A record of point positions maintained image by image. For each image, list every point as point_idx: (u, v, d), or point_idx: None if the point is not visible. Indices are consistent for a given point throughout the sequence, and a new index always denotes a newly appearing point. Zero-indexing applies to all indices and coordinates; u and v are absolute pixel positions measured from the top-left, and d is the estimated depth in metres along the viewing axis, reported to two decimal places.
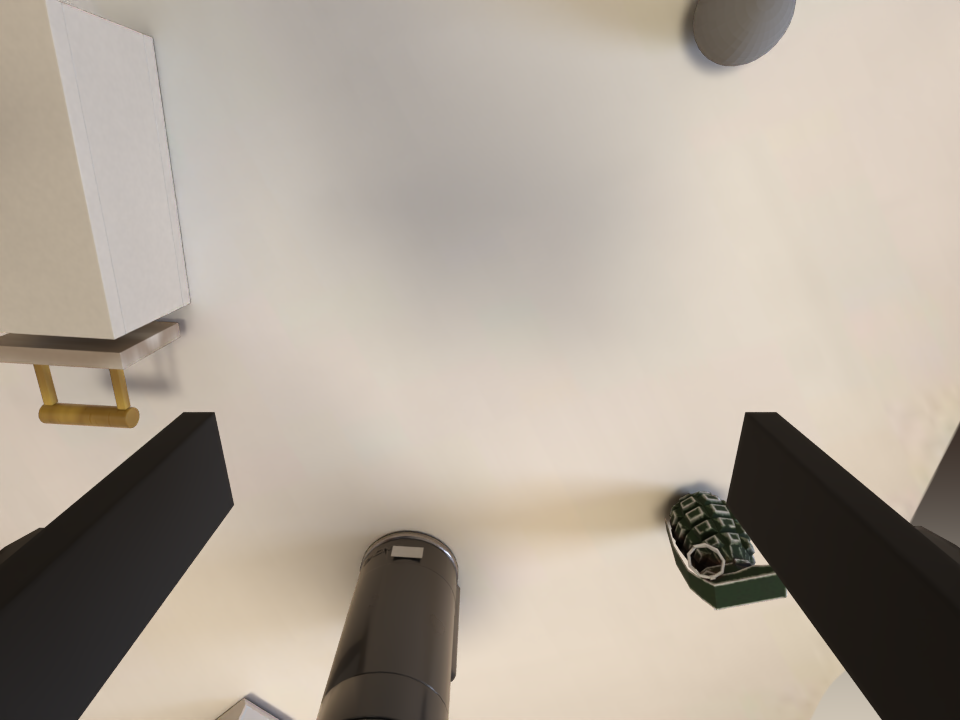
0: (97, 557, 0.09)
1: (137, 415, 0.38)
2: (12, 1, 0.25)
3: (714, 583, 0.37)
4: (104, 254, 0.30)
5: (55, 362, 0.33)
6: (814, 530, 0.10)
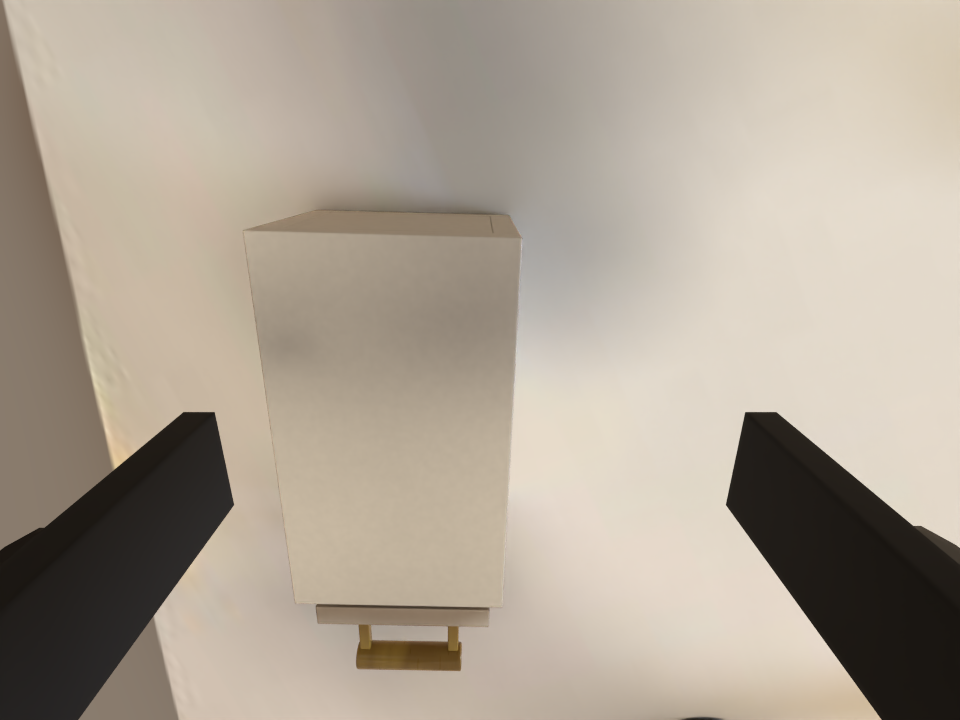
0: (97, 557, 0.09)
1: None
2: (477, 247, 0.19)
3: None
4: None
5: (407, 622, 0.27)
6: (814, 530, 0.10)
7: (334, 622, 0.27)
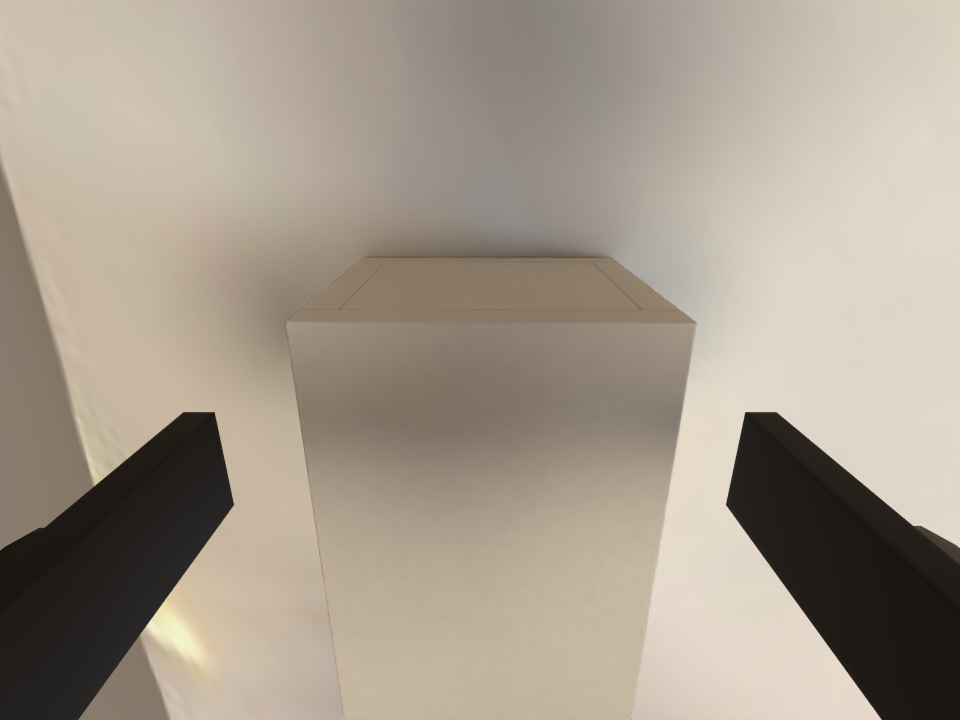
0: (97, 557, 0.09)
1: None
2: (630, 337, 0.13)
3: None
4: None
5: None
6: (814, 530, 0.10)
7: None
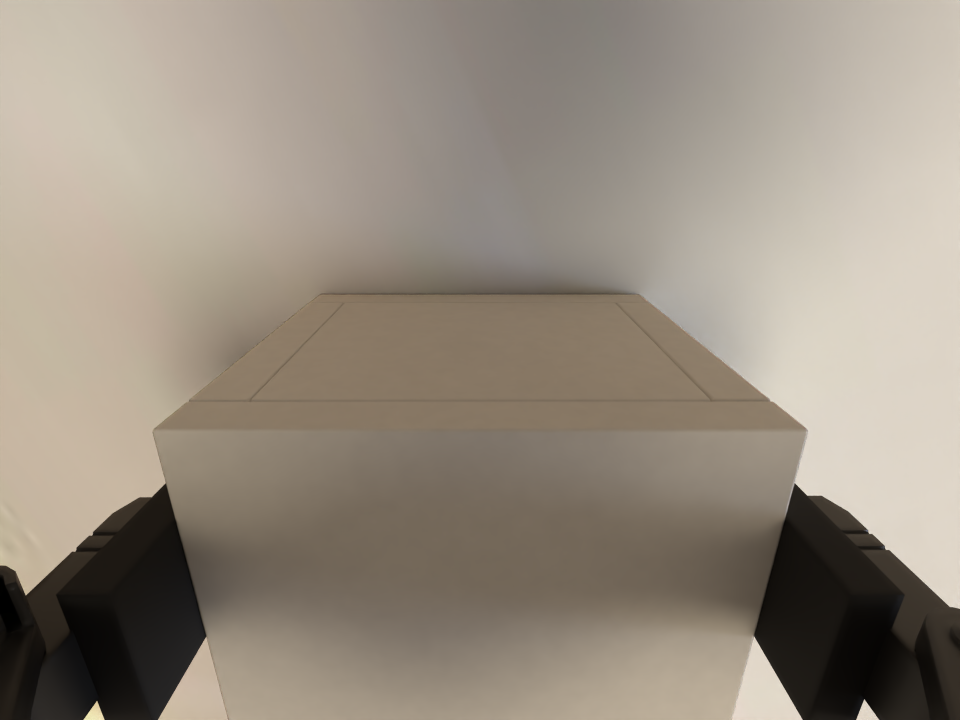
0: None
1: None
2: (702, 452, 0.08)
3: None
4: None
5: None
6: None
7: None
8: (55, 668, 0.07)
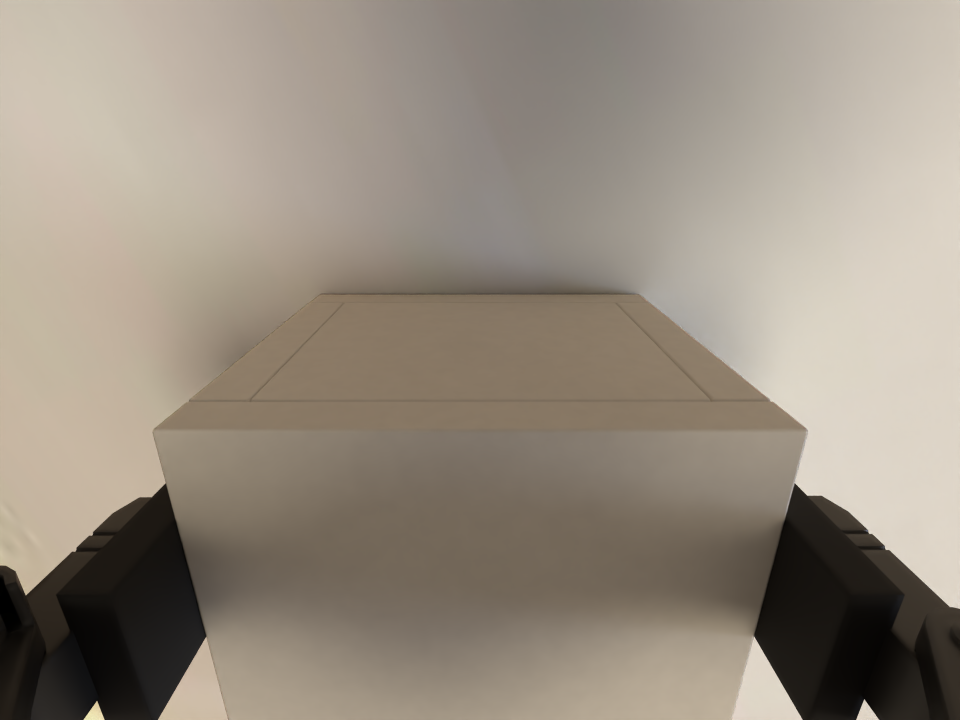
0: None
1: None
2: (702, 452, 0.08)
3: None
4: None
5: None
6: None
7: None
8: (55, 668, 0.07)
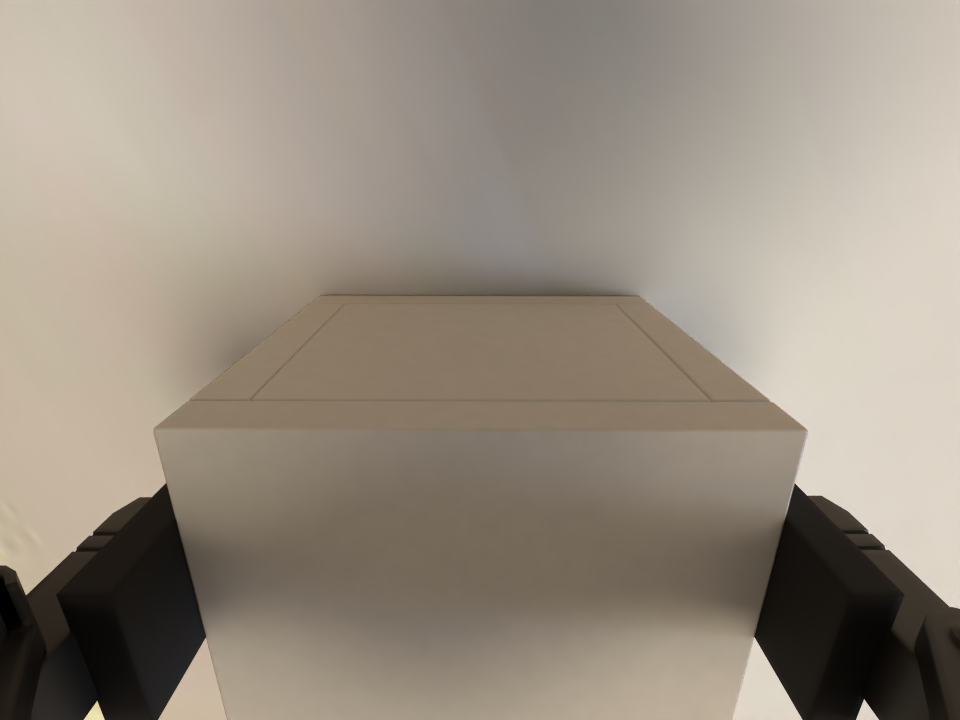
0: None
1: None
2: (702, 452, 0.08)
3: None
4: None
5: None
6: None
7: None
8: (56, 668, 0.07)
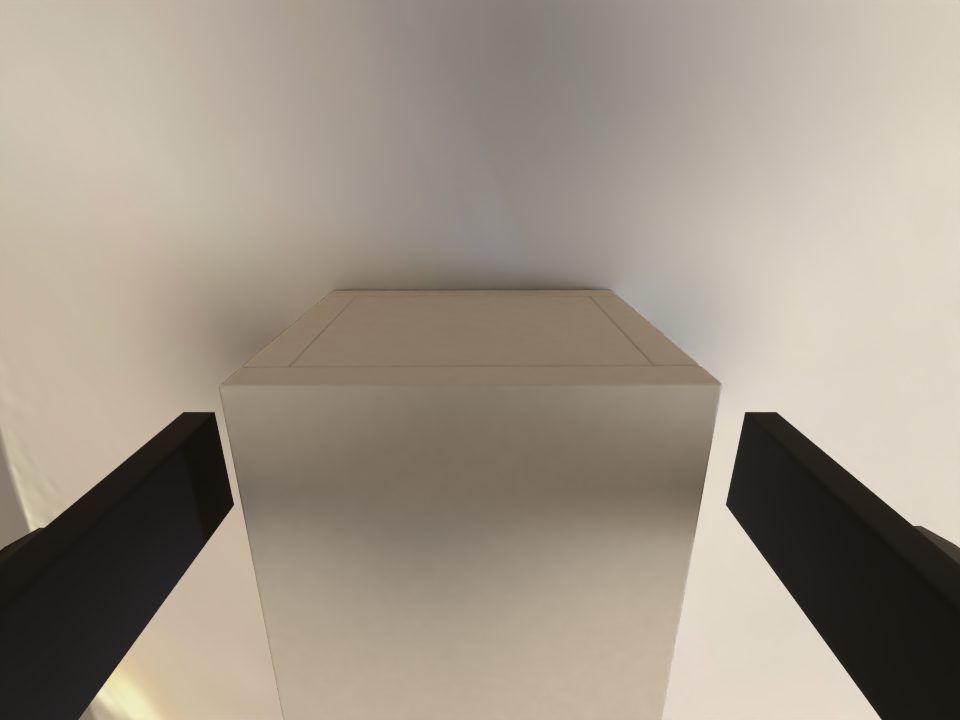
0: (97, 557, 0.09)
1: None
2: (641, 401, 0.10)
3: None
4: None
5: None
6: (814, 530, 0.10)
7: None
8: None
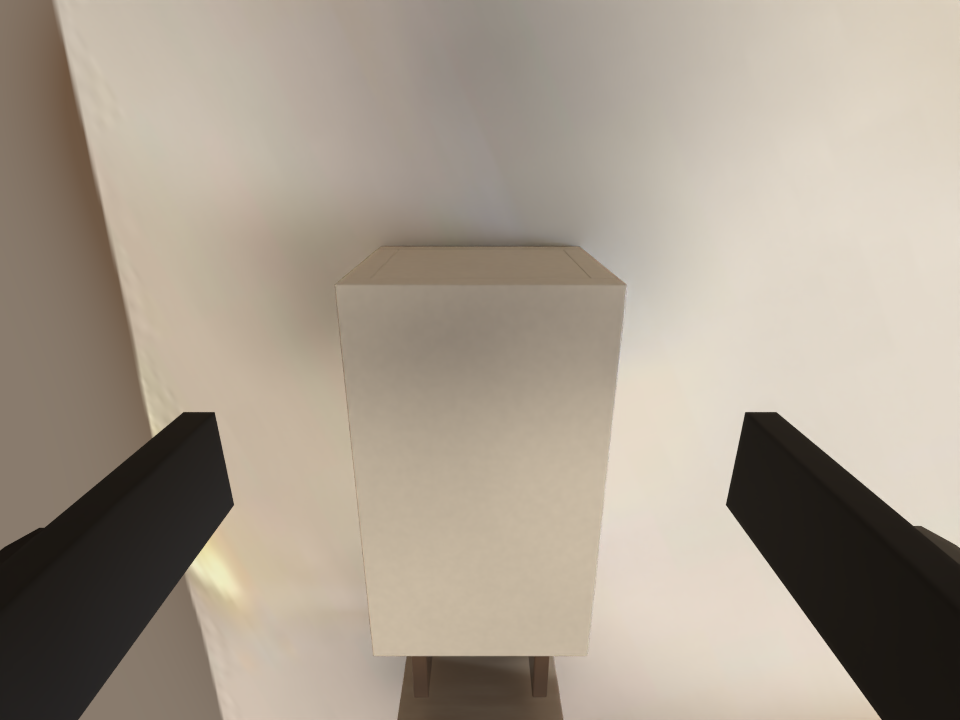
0: (97, 557, 0.09)
1: None
2: (580, 295, 0.18)
3: None
4: None
5: None
6: (814, 530, 0.10)
7: None
8: None
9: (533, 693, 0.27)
